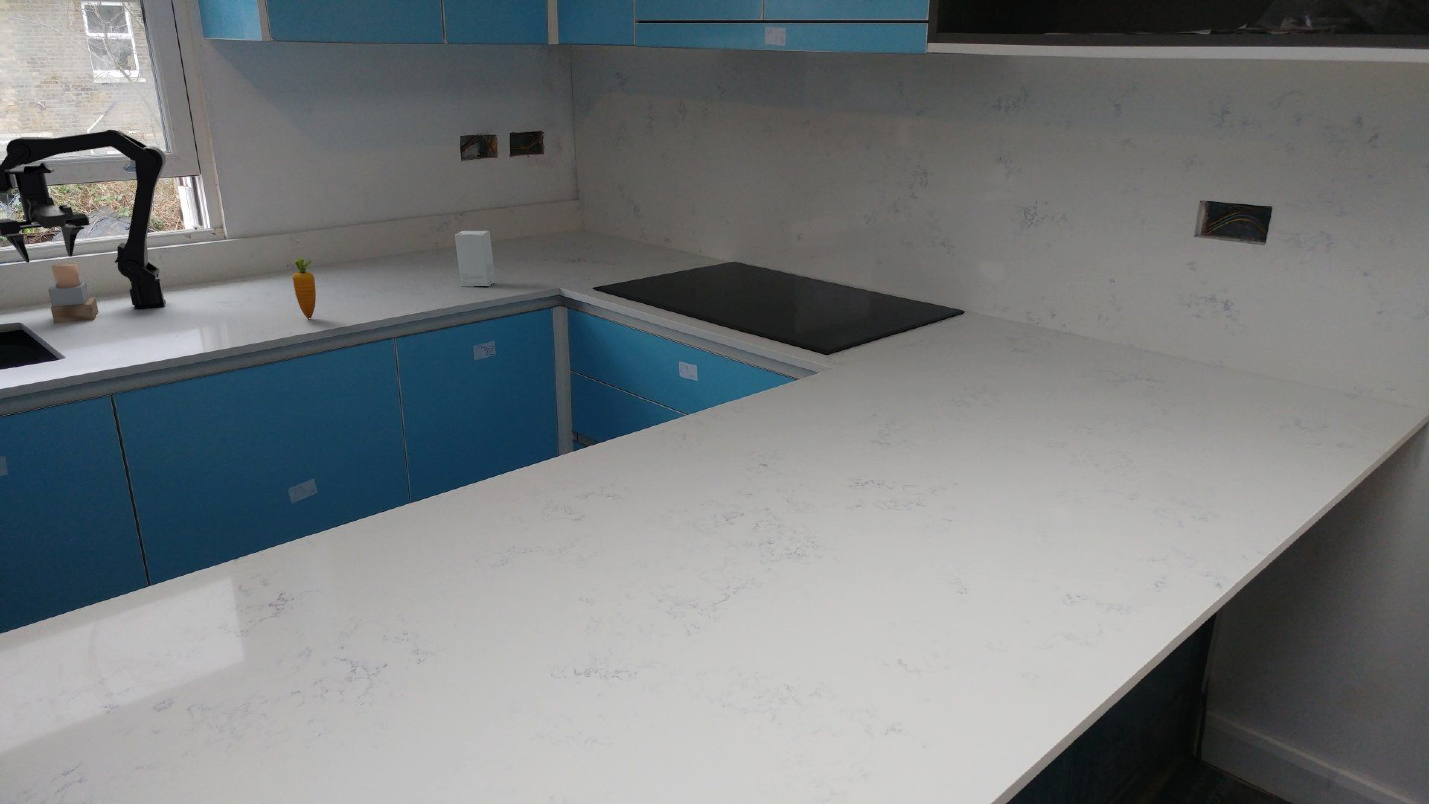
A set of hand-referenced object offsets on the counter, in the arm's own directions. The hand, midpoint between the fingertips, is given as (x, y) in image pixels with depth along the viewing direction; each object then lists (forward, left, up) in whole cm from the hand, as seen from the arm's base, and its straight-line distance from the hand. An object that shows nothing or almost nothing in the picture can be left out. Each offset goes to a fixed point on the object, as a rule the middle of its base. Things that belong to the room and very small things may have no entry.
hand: (49, 259), depth 226 cm
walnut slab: (-4, +7, -13) cm, 16 cm away
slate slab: (-3, +7, -9) cm, 12 cm away
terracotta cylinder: (-4, +7, -5) cm, 10 cm away
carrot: (-54, +31, -13) cm, 64 cm away
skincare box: (-99, +10, -13) cm, 100 cm away
